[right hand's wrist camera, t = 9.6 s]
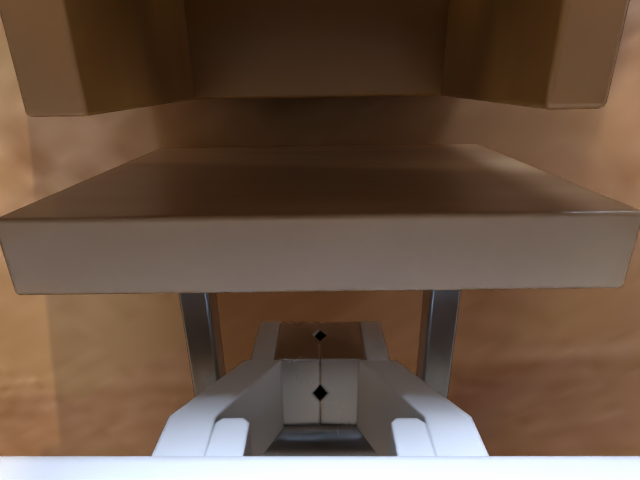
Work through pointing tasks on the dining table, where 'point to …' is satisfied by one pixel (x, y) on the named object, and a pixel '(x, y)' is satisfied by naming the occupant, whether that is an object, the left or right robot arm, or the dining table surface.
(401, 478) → the right robot arm
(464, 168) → the drawer
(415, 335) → the dining table surface
